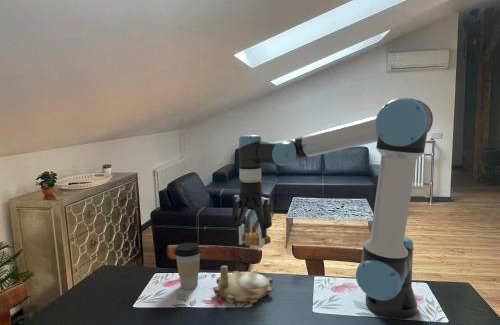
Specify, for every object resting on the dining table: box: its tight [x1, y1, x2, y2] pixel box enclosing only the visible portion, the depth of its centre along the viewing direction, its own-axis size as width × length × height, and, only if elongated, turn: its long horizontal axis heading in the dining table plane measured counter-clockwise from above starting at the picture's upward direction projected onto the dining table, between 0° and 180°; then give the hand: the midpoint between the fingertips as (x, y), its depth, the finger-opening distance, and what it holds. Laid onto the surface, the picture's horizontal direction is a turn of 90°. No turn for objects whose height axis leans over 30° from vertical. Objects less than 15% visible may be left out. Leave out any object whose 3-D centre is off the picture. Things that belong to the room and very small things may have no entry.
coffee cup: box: [173, 242, 202, 291], centre depth 126 cm, size 9×9×15 cm
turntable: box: [213, 265, 274, 304], centre depth 122 cm, size 21×21×9 cm
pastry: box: [243, 231, 272, 247], centre depth 124 cm, size 9×7×4 cm
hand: (251, 244), depth 122 cm, fingers closed on pastry, 7 cm apart
